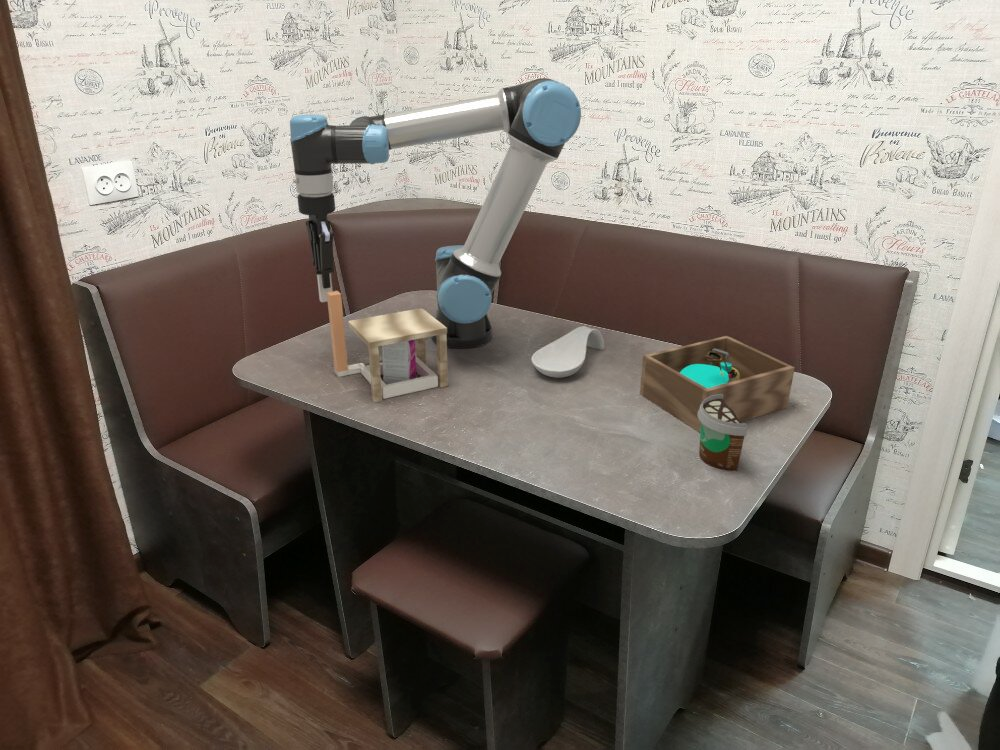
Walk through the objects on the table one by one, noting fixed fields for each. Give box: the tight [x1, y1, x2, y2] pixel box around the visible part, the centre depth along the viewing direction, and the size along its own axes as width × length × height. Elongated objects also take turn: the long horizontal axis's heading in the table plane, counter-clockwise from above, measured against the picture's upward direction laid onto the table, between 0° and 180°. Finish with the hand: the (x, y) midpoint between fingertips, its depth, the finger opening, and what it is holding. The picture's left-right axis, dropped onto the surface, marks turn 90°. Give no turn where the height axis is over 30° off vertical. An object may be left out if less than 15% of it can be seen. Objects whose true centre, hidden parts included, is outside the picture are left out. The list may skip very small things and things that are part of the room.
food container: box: [697, 394, 748, 472], centre depth 132 cm, size 12×6×10 cm, turn 5°
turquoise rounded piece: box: [680, 348, 740, 388], centre depth 151 cm, size 14×18×15 cm
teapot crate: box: [639, 335, 796, 434], centre depth 153 cm, size 23×19×9 cm
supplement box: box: [381, 339, 417, 385], centre depth 161 cm, size 6×6×12 cm
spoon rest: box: [531, 325, 605, 379], centre depth 171 cm, size 24×12×7 cm, turn 145°
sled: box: [327, 290, 439, 400], centre depth 160 cm, size 18×17×19 cm
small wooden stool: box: [348, 307, 449, 403], centre depth 160 cm, size 17×14×14 cm
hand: (326, 300), depth 165 cm, fingers closed
